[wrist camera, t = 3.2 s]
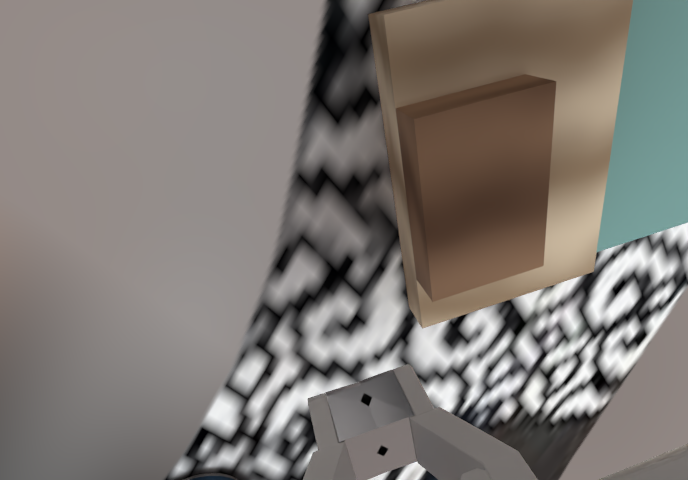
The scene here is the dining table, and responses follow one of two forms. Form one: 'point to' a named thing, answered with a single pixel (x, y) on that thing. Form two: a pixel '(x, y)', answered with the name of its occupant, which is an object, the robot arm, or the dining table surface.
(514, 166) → the tile
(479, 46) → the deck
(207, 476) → the soda can
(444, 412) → the robot arm
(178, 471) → the dining table surface
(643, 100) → the mat
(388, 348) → the dining table surface
